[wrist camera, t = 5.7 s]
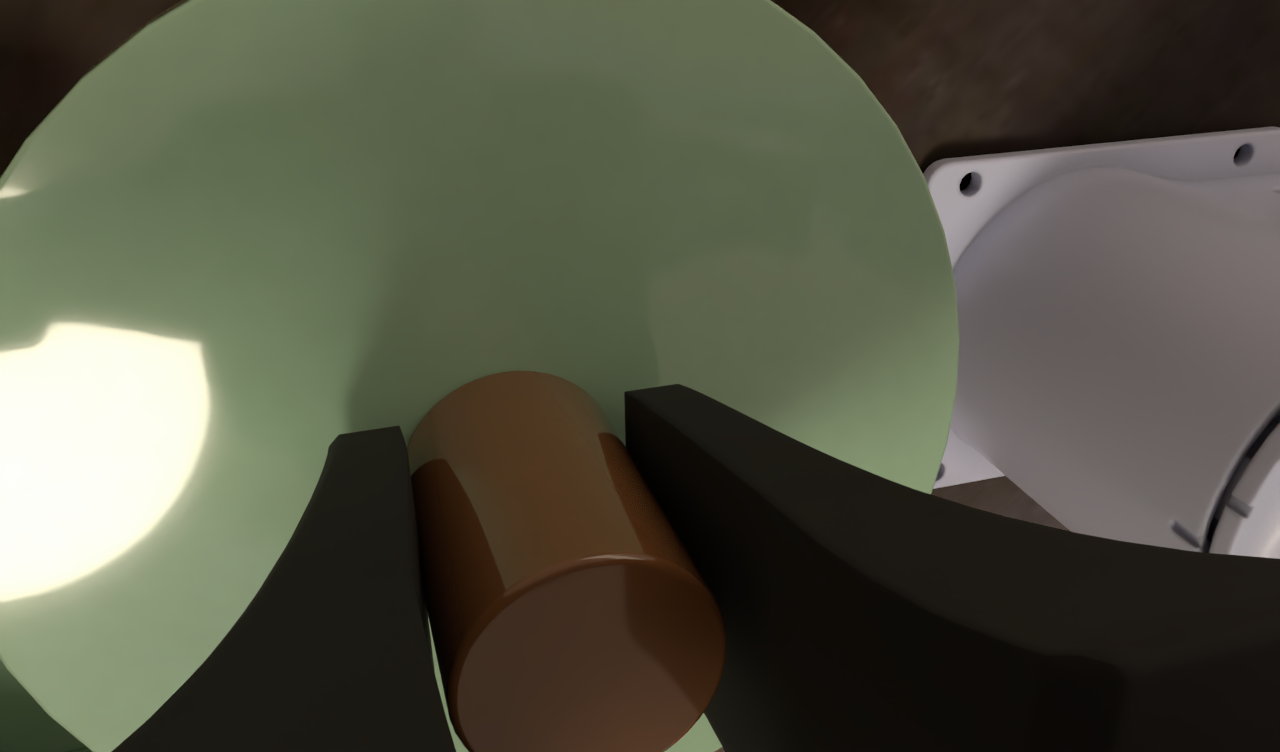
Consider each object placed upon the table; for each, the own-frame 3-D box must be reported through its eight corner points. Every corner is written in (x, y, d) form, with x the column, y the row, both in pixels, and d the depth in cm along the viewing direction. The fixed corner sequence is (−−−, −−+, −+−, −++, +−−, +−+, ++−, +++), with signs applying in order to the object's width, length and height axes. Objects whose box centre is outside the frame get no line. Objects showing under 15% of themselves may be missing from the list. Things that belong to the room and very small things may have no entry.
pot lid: (961, -106, 12) (1311, -78, 8) (879, 685, 17) (1070, 949, 13) (-218, -66, 9) (-601, 5, 5) (93, 871, 14) (23, 1284, 10)
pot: (257, 119, 19) (255, 209, 14) (366, 786, 26) (389, 993, 21) (-462, 173, 16) (-751, 305, 12) (-129, 899, 23) (-227, 1165, 19)
